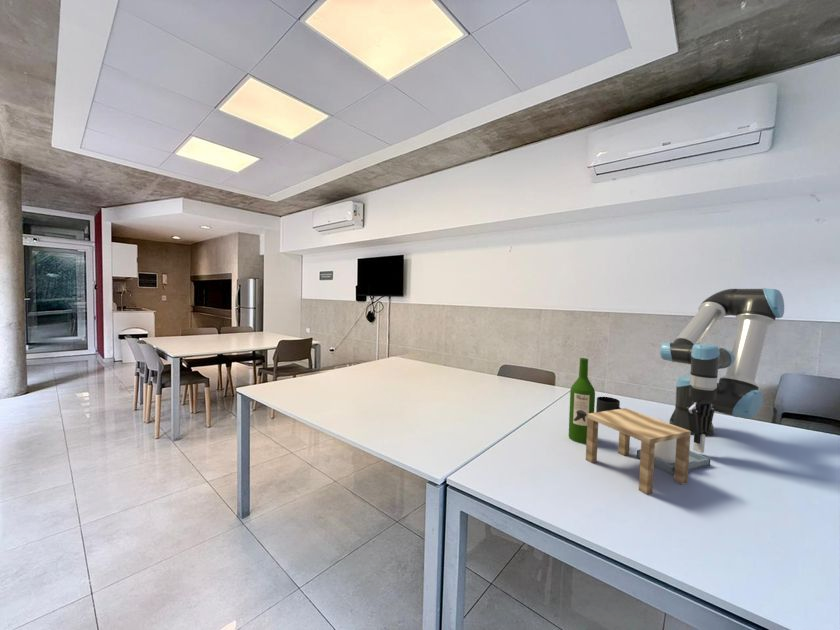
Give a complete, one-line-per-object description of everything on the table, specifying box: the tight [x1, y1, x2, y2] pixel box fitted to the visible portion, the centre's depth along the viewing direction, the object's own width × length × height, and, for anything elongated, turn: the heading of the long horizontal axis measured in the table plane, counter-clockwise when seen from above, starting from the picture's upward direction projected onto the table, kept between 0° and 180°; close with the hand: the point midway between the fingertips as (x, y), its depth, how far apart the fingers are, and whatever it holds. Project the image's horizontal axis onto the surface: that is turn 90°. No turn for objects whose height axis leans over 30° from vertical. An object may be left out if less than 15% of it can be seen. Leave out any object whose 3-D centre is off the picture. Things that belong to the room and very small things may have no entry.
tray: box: [636, 448, 711, 476], centre depth 119 cm, size 18×13×2 cm
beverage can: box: [654, 439, 677, 464], centre depth 118 cm, size 6×6×12 cm
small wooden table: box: [585, 407, 692, 495], centre depth 112 cm, size 18×22×16 cm
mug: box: [595, 396, 622, 413], centre depth 159 cm, size 9×12×9 cm
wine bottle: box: [568, 357, 596, 444], centre depth 136 cm, size 9×9×32 cm
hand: (698, 451), depth 124 cm, fingers closed
